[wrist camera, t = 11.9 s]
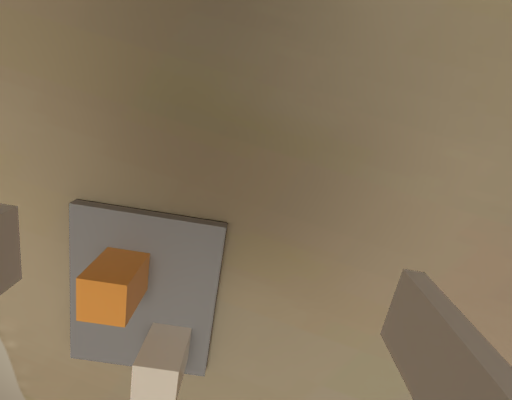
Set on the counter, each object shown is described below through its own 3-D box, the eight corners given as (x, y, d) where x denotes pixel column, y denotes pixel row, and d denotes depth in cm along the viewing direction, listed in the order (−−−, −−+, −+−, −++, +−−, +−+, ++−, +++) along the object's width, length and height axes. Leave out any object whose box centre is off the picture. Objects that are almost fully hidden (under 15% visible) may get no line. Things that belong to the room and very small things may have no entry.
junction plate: (76, 199, 38) (27, 226, 30) (227, 223, 39) (218, 255, 31) (76, 349, 45) (36, 404, 37) (206, 367, 46) (194, 426, 38)
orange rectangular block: (107, 246, 39) (75, 278, 32) (150, 253, 39) (127, 285, 32) (106, 283, 40) (76, 320, 33) (147, 289, 40) (125, 327, 34)
